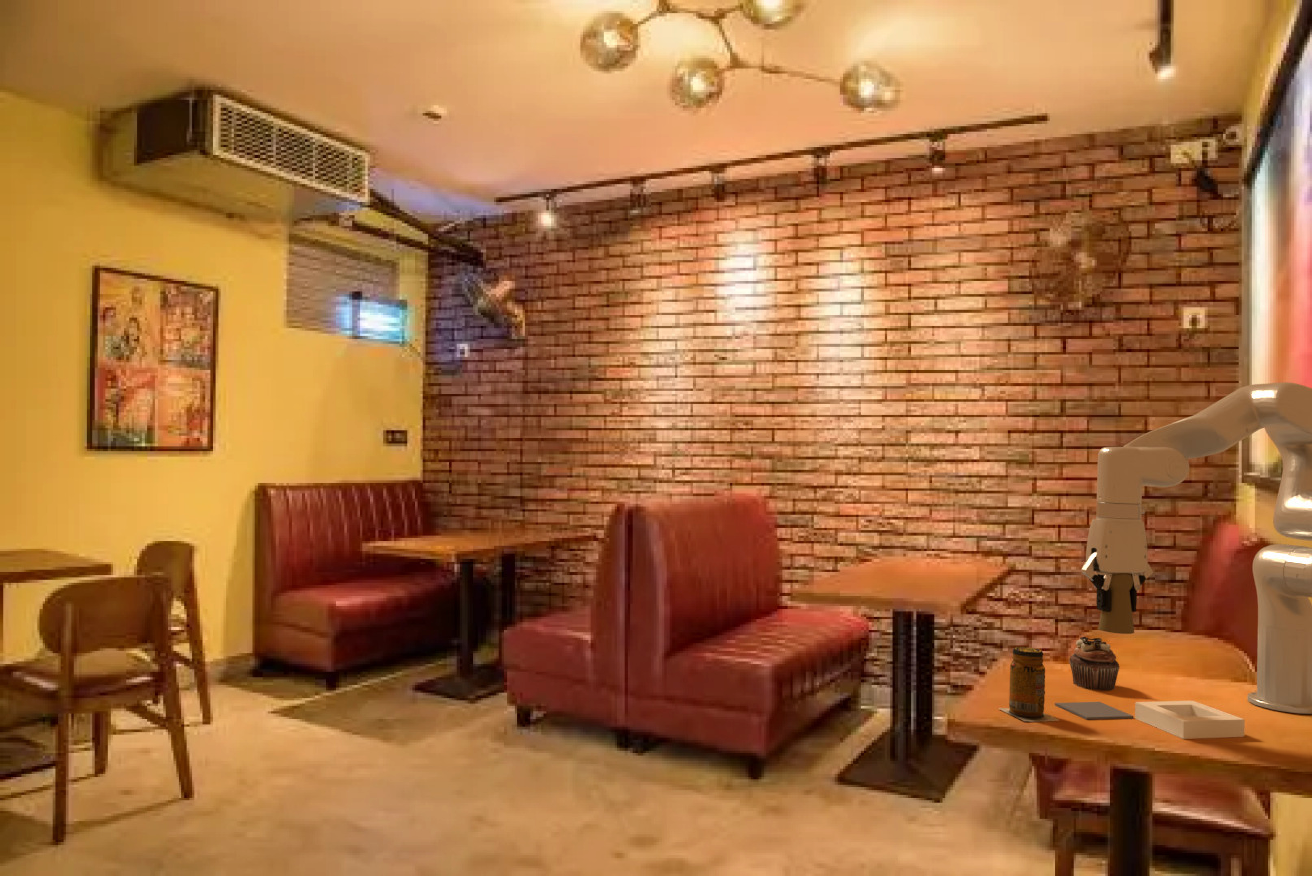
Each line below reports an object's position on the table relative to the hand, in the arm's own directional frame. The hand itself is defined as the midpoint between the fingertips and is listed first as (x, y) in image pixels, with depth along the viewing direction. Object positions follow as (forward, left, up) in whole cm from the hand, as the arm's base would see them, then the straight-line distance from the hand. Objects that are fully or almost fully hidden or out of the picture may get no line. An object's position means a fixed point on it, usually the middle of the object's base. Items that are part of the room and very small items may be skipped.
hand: (1116, 609), depth 172 cm
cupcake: (-11, -21, -20) cm, 31 cm away
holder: (-9, +8, -20) cm, 23 cm away
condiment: (+16, -2, -20) cm, 26 cm away
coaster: (+2, -3, -20) cm, 20 cm away
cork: (0, 0, -4) cm, 4 cm away
